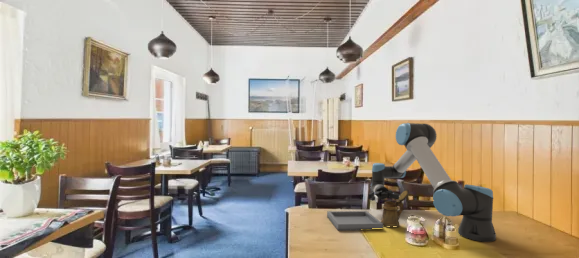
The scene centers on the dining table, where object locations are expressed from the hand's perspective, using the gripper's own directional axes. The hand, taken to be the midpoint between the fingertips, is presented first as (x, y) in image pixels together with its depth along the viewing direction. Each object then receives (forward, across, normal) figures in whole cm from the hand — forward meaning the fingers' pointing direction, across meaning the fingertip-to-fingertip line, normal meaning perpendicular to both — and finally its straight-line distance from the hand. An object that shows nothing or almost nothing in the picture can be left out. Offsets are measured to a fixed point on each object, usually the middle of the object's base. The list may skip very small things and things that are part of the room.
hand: (390, 200), depth 173 cm
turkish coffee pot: (+10, 0, -10) cm, 14 cm away
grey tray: (+9, +20, -10) cm, 25 cm away
